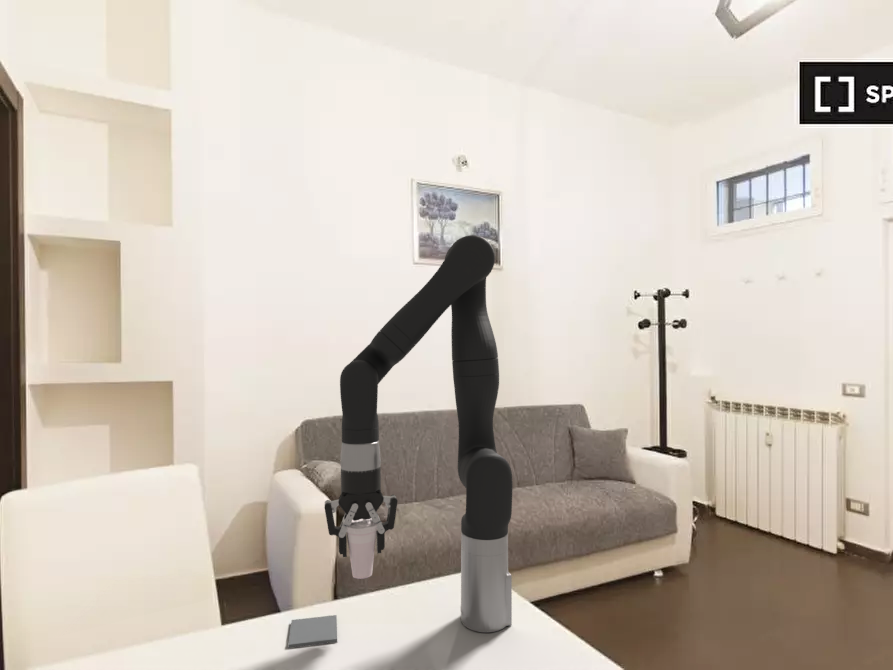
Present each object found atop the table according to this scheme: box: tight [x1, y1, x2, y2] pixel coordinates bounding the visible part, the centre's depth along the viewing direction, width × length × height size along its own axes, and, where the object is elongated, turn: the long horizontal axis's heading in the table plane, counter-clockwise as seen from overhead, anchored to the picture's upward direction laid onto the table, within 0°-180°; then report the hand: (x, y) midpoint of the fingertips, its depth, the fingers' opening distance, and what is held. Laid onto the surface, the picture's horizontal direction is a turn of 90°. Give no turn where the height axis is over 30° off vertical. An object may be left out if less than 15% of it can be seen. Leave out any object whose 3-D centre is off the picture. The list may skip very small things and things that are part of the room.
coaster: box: [287, 614, 338, 649], centre depth 96 cm, size 8×8×1 cm
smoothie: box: [346, 518, 378, 580], centre depth 97 cm, size 6×6×14 cm
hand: (361, 553), depth 97 cm, fingers closed on smoothie, 6 cm apart
